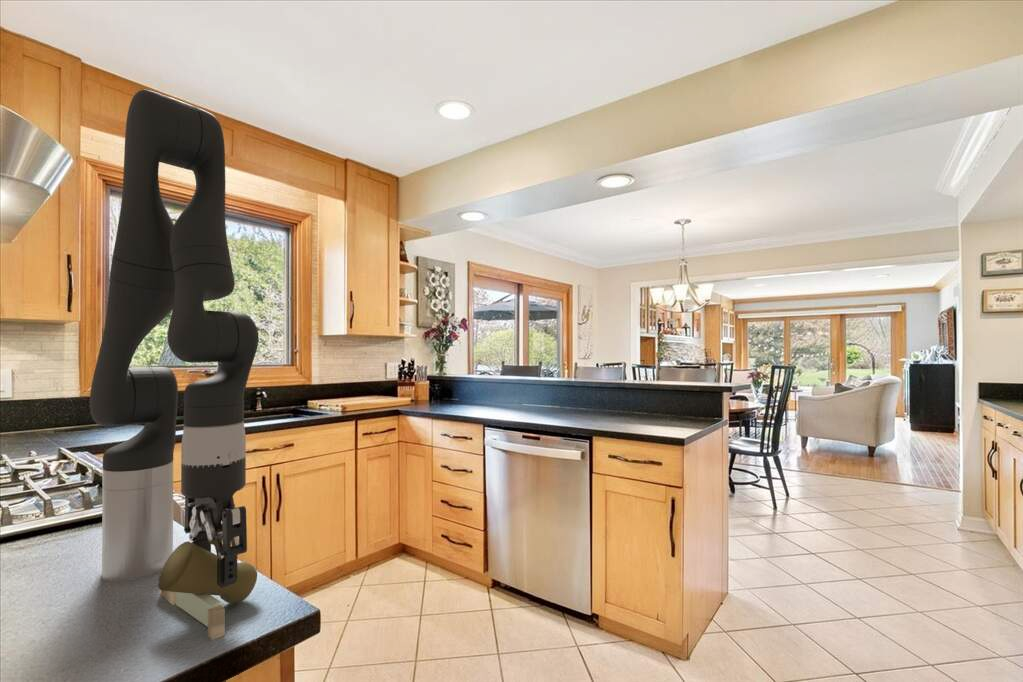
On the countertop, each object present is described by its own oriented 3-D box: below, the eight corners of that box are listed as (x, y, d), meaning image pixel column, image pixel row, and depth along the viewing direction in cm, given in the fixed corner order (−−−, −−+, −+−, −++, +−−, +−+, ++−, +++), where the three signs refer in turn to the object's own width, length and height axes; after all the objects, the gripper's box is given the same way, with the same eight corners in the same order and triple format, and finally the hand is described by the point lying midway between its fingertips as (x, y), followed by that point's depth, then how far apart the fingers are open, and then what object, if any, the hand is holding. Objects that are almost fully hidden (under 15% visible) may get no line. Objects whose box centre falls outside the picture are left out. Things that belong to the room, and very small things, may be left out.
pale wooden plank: (160, 594, 70) (161, 570, 71) (172, 590, 72) (172, 567, 72) (212, 641, 59) (212, 613, 59) (224, 636, 60) (224, 608, 60)
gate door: (176, 604, 67) (176, 583, 67) (185, 601, 68) (185, 579, 68) (213, 631, 61) (214, 607, 61) (223, 626, 62) (223, 603, 62)
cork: (151, 588, 62) (227, 606, 70) (172, 593, 59) (250, 611, 66) (177, 540, 66) (247, 561, 73) (199, 542, 63) (270, 564, 70)
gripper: (163, 454, 67) (163, 570, 67) (204, 470, 58) (204, 604, 58) (222, 445, 73) (221, 552, 73) (267, 458, 64) (266, 580, 64)
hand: (213, 575), depth 66 cm, fingers open, 8 cm apart
